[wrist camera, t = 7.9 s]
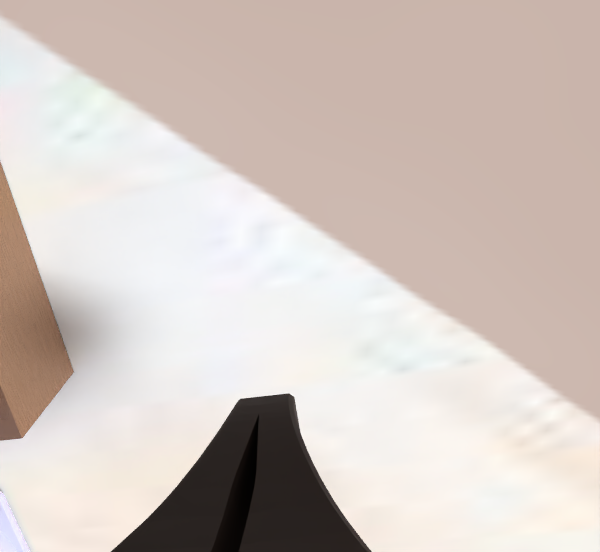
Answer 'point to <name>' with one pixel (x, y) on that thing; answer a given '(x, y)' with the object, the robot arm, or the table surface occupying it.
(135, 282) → the table surface
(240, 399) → the robot arm
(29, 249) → the cooker
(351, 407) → the table surface
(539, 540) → the table surface
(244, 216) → the table surface
